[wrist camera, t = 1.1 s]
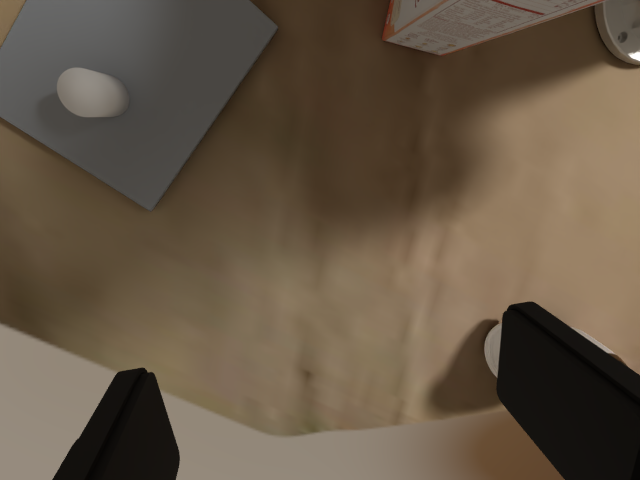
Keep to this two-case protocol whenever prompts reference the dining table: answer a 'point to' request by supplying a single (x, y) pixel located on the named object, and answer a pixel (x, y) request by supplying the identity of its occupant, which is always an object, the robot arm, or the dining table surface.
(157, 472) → the robot arm
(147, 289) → the dining table surface
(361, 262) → the dining table surface
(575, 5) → the cracker box
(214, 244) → the dining table surface
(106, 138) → the base
